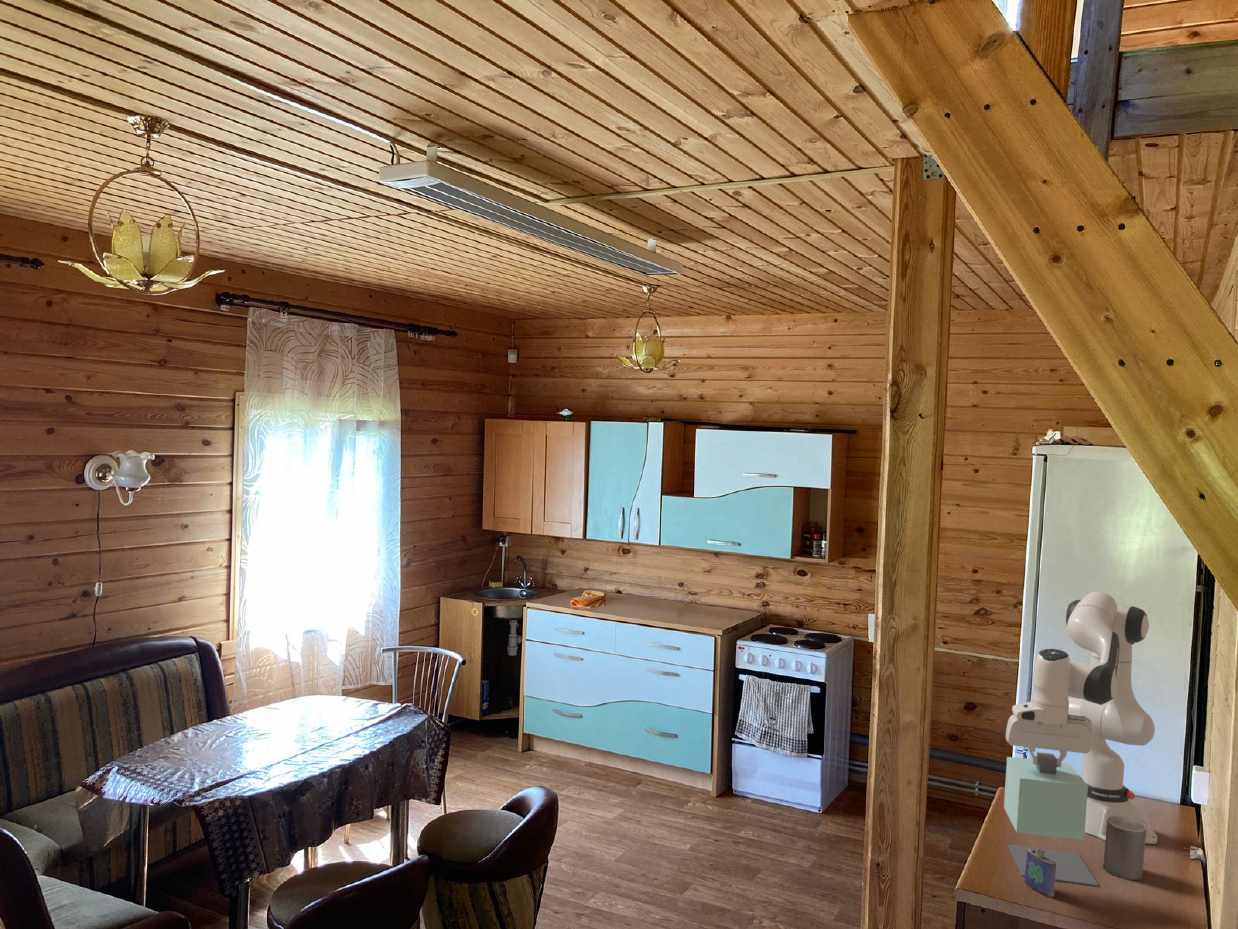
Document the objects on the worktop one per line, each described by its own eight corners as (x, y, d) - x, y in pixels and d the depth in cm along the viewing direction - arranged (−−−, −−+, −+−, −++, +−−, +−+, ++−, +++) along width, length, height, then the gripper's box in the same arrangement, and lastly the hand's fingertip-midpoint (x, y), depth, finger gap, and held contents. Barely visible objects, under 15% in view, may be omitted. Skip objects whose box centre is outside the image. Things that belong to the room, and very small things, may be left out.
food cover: (1067, 815, 249) (1071, 749, 248) (1084, 840, 233) (1088, 770, 232) (1003, 807, 252) (1007, 742, 251) (1016, 832, 236) (1020, 762, 236)
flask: (1056, 897, 239) (1058, 856, 239) (1047, 899, 238) (1050, 858, 238) (1029, 880, 248) (1031, 841, 248) (1020, 881, 247) (1023, 842, 247)
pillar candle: (1094, 865, 259) (1099, 813, 258) (1121, 861, 262) (1125, 809, 261) (1124, 882, 249) (1129, 828, 249) (1151, 878, 253) (1155, 824, 252)
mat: (1078, 855, 265) (1078, 853, 265) (1098, 886, 246) (1098, 885, 246) (1007, 845, 269) (1007, 844, 269) (1022, 876, 250) (1022, 875, 250)
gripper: (1089, 713, 242) (1085, 765, 243) (1006, 705, 247) (1002, 756, 247) (1096, 720, 236) (1092, 774, 237) (1011, 712, 240) (1007, 764, 241)
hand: (1046, 765), depth 242 cm, fingers closed on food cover, 4 cm apart
